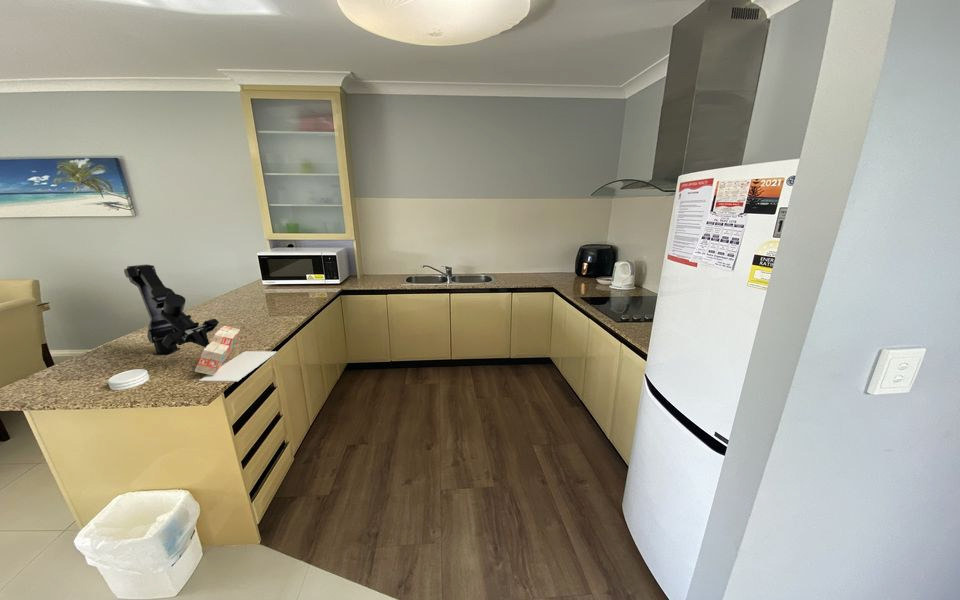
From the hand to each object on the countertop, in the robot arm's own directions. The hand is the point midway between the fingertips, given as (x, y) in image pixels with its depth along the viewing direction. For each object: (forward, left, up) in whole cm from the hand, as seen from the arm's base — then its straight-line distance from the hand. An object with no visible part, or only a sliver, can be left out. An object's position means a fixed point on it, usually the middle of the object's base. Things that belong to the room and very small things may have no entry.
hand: (208, 347), depth 127 cm
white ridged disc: (-20, -12, -9) cm, 26 cm away
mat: (+10, +2, -9) cm, 14 cm away
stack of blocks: (0, +1, -7) cm, 7 cm away
